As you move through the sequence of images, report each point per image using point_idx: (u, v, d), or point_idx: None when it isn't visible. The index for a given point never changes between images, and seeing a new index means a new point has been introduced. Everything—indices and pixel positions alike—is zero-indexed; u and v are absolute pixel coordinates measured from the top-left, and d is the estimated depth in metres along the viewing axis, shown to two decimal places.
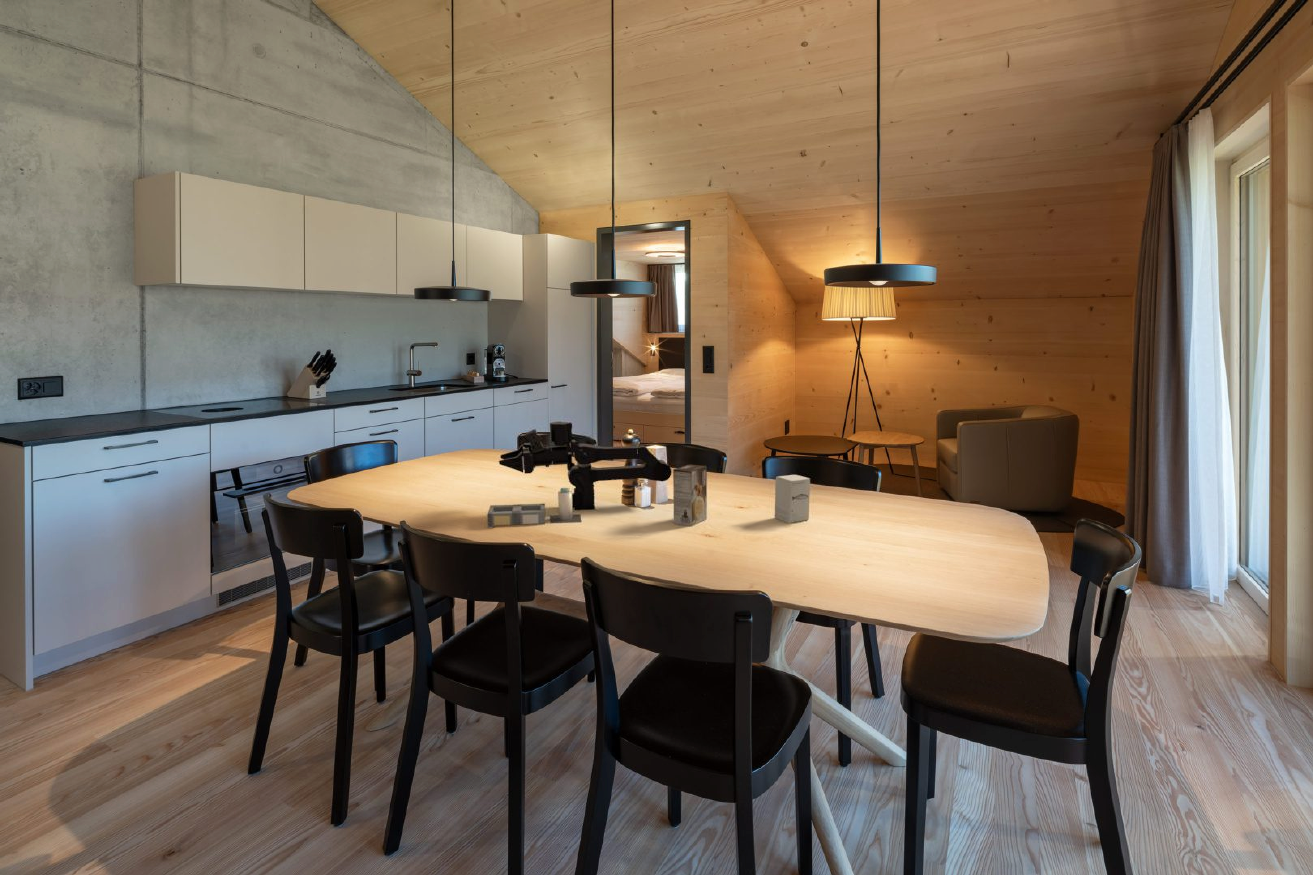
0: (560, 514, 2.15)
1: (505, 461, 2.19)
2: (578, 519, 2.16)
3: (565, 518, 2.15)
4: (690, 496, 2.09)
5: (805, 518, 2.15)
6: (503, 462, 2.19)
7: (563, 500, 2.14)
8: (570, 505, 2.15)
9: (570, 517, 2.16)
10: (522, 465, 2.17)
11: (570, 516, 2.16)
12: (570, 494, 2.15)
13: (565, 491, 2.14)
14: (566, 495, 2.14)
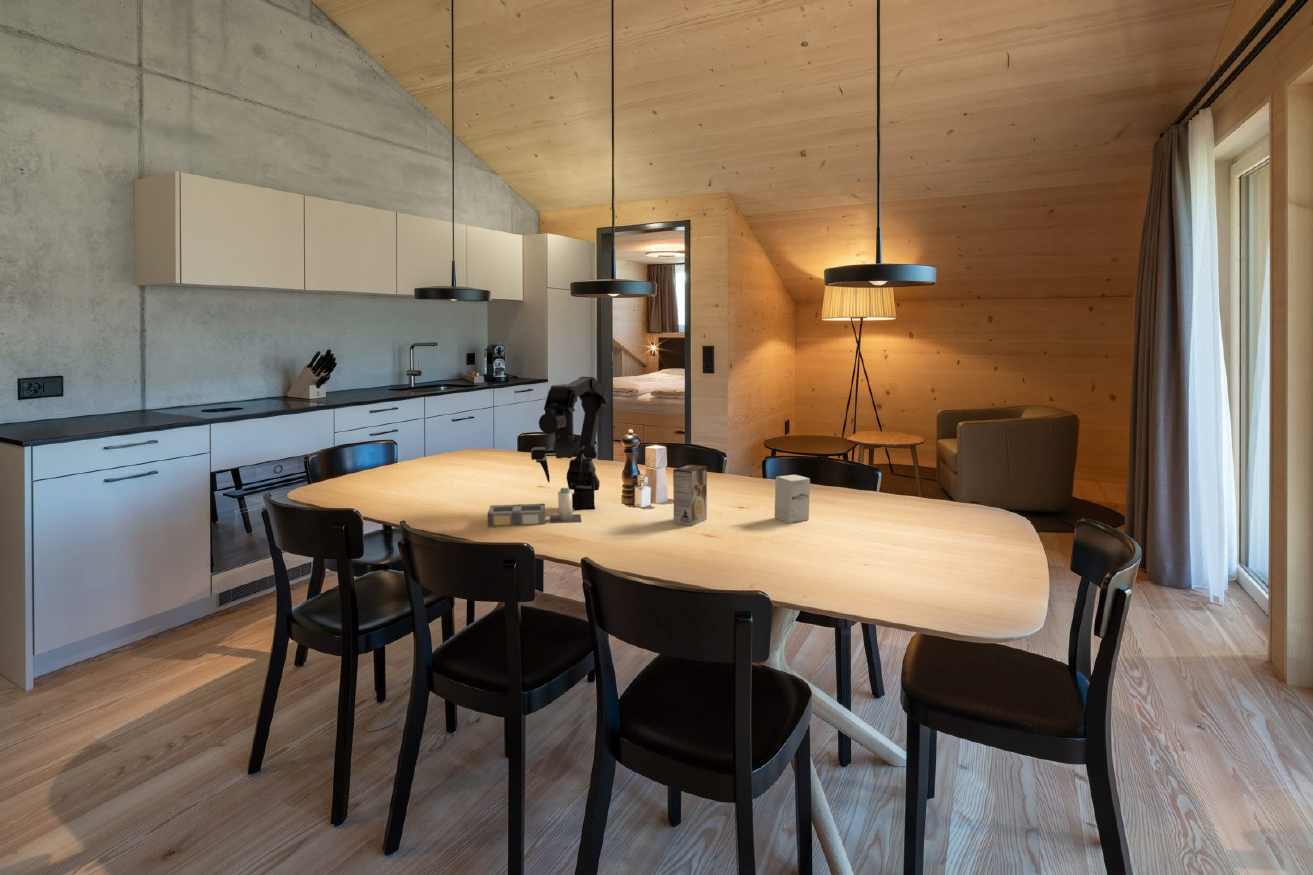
0: (560, 514, 2.15)
1: None
2: (578, 519, 2.16)
3: (565, 518, 2.15)
4: (690, 496, 2.09)
5: (805, 518, 2.15)
6: (582, 476, 2.16)
7: (563, 500, 2.14)
8: (570, 505, 2.15)
9: (570, 517, 2.16)
10: None
11: (570, 516, 2.16)
12: (570, 494, 2.15)
13: (565, 491, 2.14)
14: (566, 495, 2.14)
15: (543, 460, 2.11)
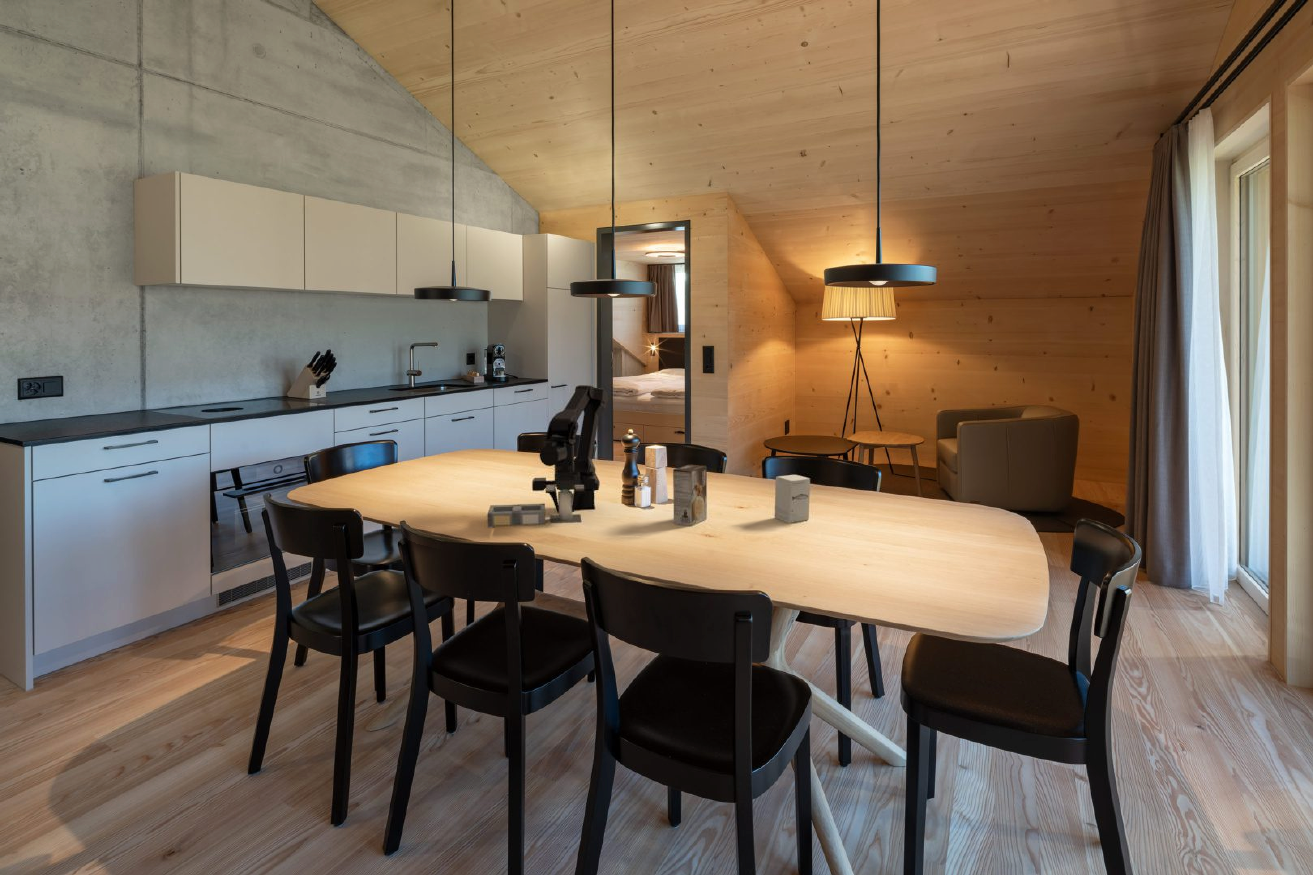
0: (560, 514, 2.15)
1: None
2: (578, 519, 2.16)
3: (565, 518, 2.15)
4: (690, 496, 2.09)
5: (805, 518, 2.15)
6: (574, 507, 2.17)
7: (563, 500, 2.14)
8: (570, 505, 2.15)
9: (570, 517, 2.16)
10: None
11: (570, 516, 2.16)
12: (570, 494, 2.15)
13: (565, 491, 2.14)
14: (566, 495, 2.14)
15: (552, 491, 2.13)
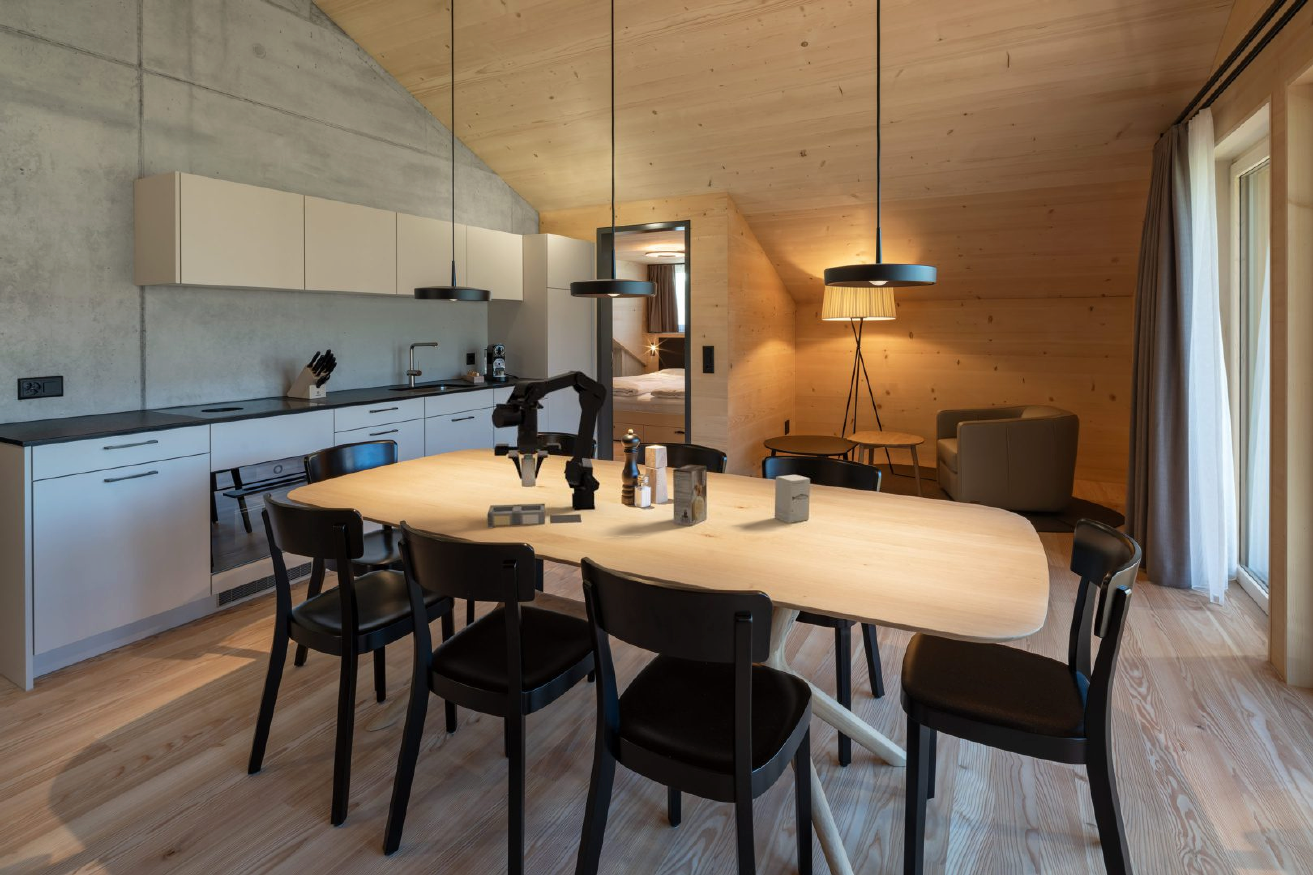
0: (523, 480, 2.12)
1: None
2: (578, 519, 2.16)
3: (528, 485, 2.11)
4: (690, 496, 2.09)
5: (805, 518, 2.15)
6: (537, 474, 2.14)
7: (526, 466, 2.11)
8: (533, 471, 2.12)
9: (533, 484, 2.12)
10: (547, 454, 2.14)
11: (533, 483, 2.12)
12: (533, 460, 2.12)
13: (528, 457, 2.11)
14: (529, 461, 2.11)
15: (515, 456, 2.09)
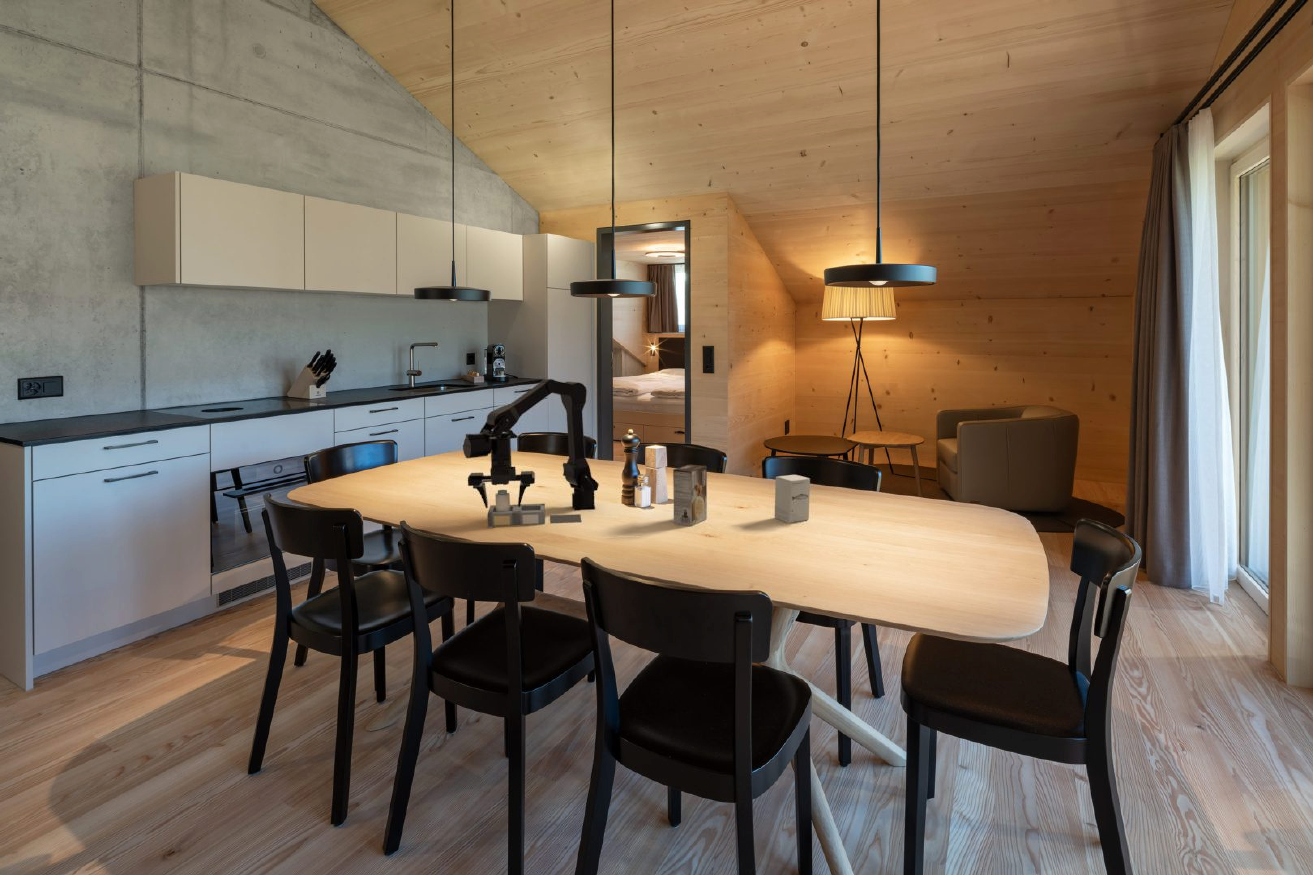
0: None
1: None
2: (578, 519, 2.16)
3: None
4: (690, 496, 2.09)
5: (805, 518, 2.15)
6: (520, 502, 2.14)
7: (500, 502, 2.12)
8: (507, 507, 2.13)
9: None
10: None
11: None
12: (507, 496, 2.12)
13: (502, 493, 2.12)
14: (503, 497, 2.11)
15: (480, 486, 2.10)
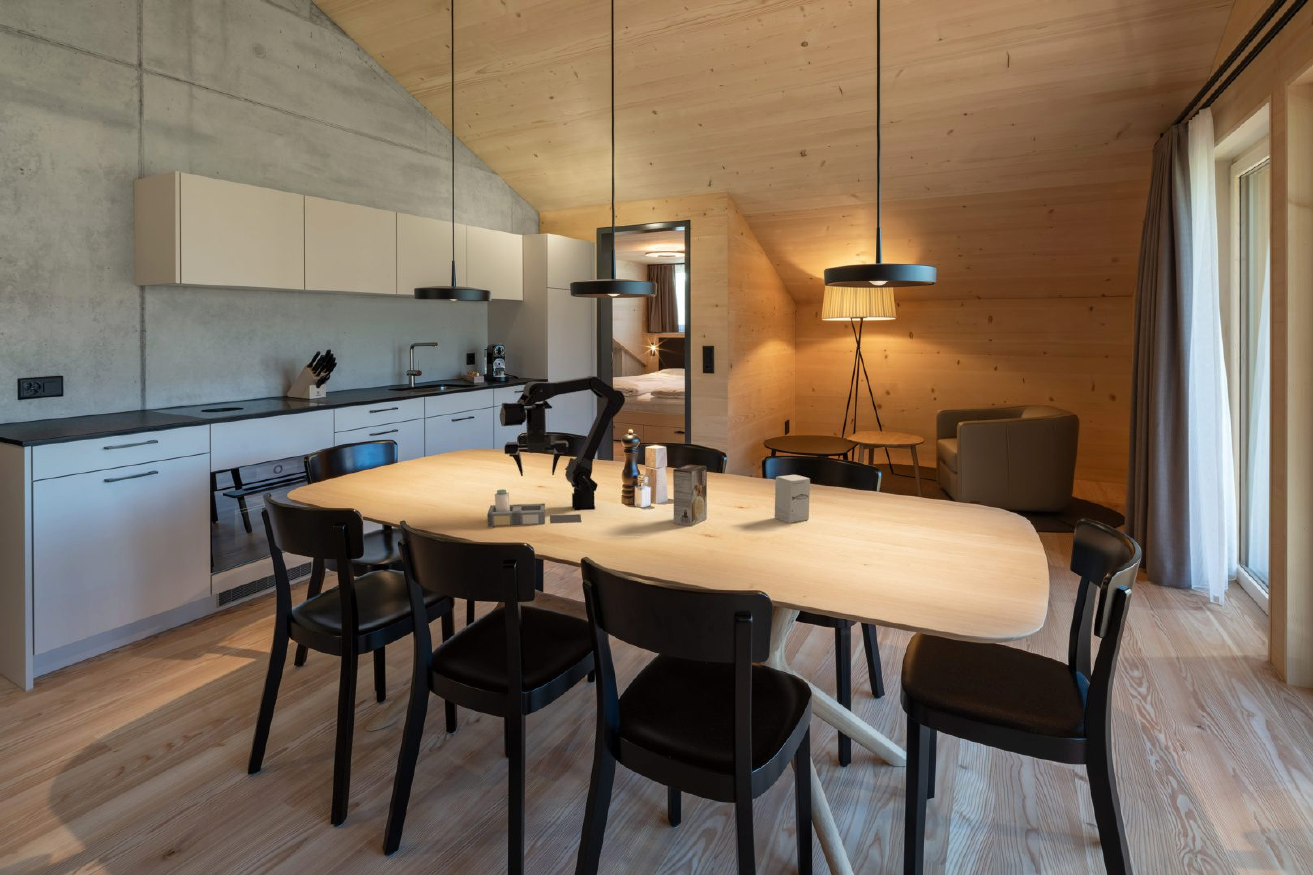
0: None
1: (554, 468, 2.22)
2: (578, 519, 2.16)
3: None
4: (690, 496, 2.09)
5: (805, 518, 2.15)
6: (554, 470, 2.22)
7: (500, 502, 2.12)
8: (507, 507, 2.13)
9: None
10: None
11: None
12: (506, 496, 2.12)
13: (501, 493, 2.12)
14: (502, 497, 2.11)
15: (516, 454, 2.18)
